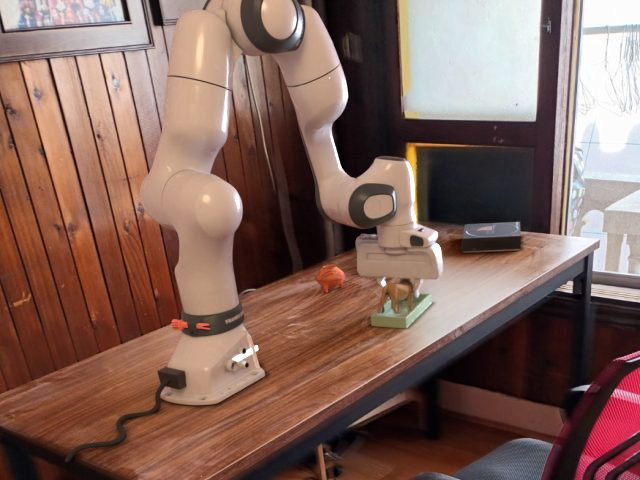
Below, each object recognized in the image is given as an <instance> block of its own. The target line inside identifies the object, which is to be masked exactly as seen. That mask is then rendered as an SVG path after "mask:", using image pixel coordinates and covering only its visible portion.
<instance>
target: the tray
mask: <svg viewBox="0 0 640 480" xmlns="http://www.w3.org/2000/svg"><path fill="white" fill-rule="evenodd" d="M432 296H433V295H432V293H427V292H426V293H425V292H419V297H418V298H414V297H412V298H413V300H412V306H411V310H412V311H410V312H408V310H407V308H408V301H407V300H405V299H404V300H402V311H401V312H400V311H399V312H400V313H399V314H395V313H394V312H393V310H392V308H391V306H392V302H391V299H390V298H389V299H387V300H386V301H385V302H384V309H385V311H384V313H378V309H377V310H376V311H375V312H373V313H372V314H371V315H370V324H371V327H380V328H392V329H393V328H395V329H396V328H397V329H408V328H409V327H410V326H411V325H412V324H413V323H414V322H415V321H416V320H417V319H418V318H419V317H420V316H421V315H422V314H423V313H424V312H425V311H426V310H427V309H428V308H429V307H430V306H432V304H433V299H432ZM381 310H382V307H381ZM396 310H398V300H397V301H396Z"/></svg>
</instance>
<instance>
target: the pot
mask: <svg viewBox="0 0 640 480" xmlns="http://www.w3.org/2000/svg"><path fill="white" fill-rule="evenodd" d="M345 278H346V274H345V272H344V271H343V270H341V268H339V267H338V266H337V265H336V264H326V265H322V267H321V268H320V269H319V270H318V271H317V272H316V274H315V275H314V280H315V281H316V282H317V284H319V285H320V286H322V287H323V291H324V292H325V293H328V292H329V288H335V287H337V286H339V288H340V289H342V288H343V287H344V286H343V285H344V281H345Z"/></svg>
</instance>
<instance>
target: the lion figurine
mask: <svg viewBox="0 0 640 480" xmlns="http://www.w3.org/2000/svg"><path fill="white" fill-rule="evenodd" d="M416 285H417V283H415V280H414V279H410V278H399V281H398V283H395V282H394V283H393V282H389V283H386V285H385V286H384V287H383V290H382V289H381V297H380V301H379V302H378V305H377V310H378V313H384V311H385V309H384V304H385V303H386V302H387V301H388V298H389V300H390V299H391V302H392V306H391V308H392V310H393V312H394V313H395V314H399V313H400V312H401V311H402V300H404V299H405V300H407V301H408V308H407V310H408V312H410V311H412V310H411V306H412V300H413V298H412V297H411V290H412V289H413V288H415V287H416ZM397 300H398V310H396V301H397ZM381 307H382V310H381ZM399 311H400V312H399Z"/></svg>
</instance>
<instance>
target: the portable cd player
mask: <svg viewBox="0 0 640 480" xmlns="http://www.w3.org/2000/svg"><path fill="white" fill-rule="evenodd" d="M521 234H522V232H521V221H508V222H507V221H506V222H505V221H504V222H486V223H485V222H483V223H468V224H467V223H465V224H464V228H463V232H462V239H461V244H460V250H461V252H462V253H463V254H469V253H489V252H493V253H494V252H513V251H521V245H522V244H521V243H522V241H521V239H522V235H521Z"/></svg>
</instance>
